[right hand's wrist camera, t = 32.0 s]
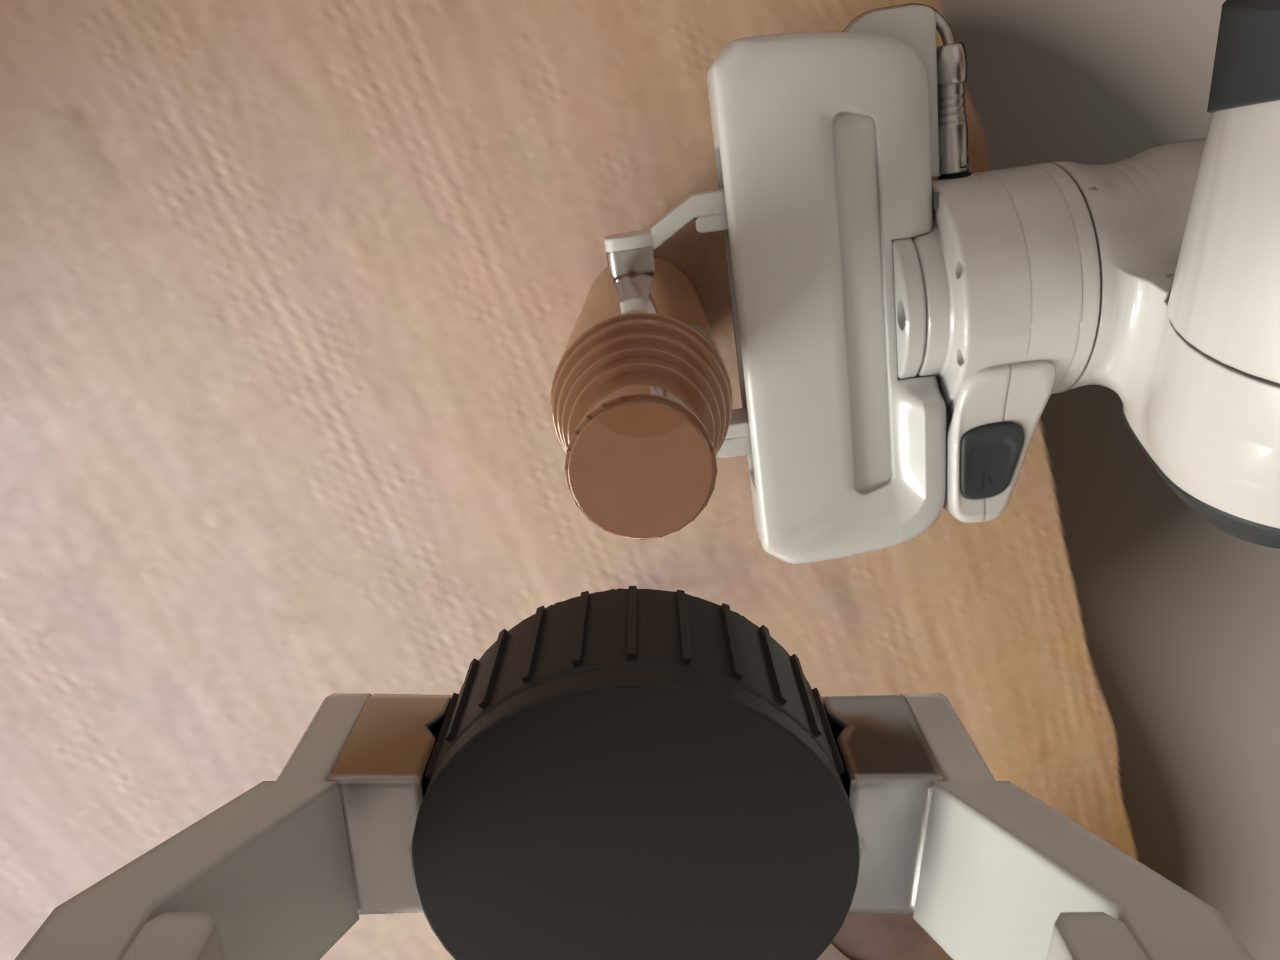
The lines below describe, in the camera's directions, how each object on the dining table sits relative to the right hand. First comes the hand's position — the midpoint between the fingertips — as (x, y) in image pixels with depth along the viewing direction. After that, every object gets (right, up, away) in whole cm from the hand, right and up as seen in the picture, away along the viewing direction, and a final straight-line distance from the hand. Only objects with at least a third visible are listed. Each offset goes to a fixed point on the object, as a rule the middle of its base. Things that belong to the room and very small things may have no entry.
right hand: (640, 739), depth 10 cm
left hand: (-1, +9, +24) cm, 25 cm away
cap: (0, -1, -2) cm, 2 cm away
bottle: (0, +11, +29) cm, 31 cm away
